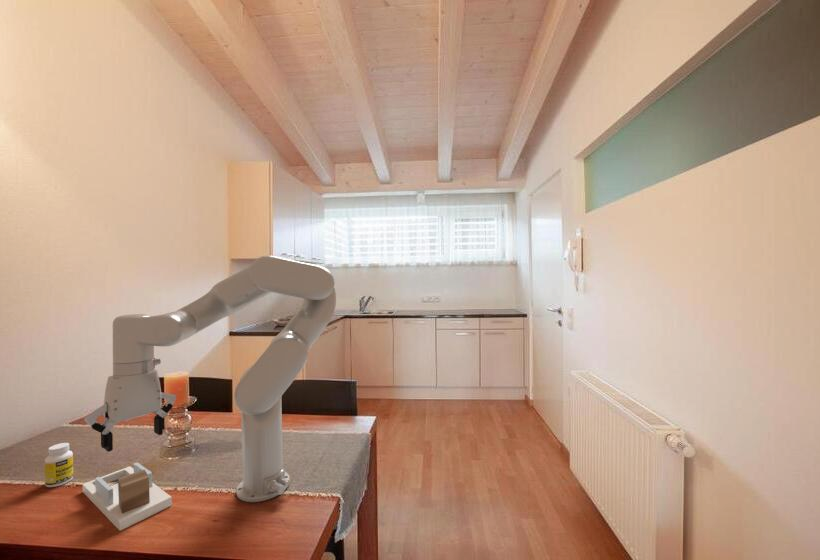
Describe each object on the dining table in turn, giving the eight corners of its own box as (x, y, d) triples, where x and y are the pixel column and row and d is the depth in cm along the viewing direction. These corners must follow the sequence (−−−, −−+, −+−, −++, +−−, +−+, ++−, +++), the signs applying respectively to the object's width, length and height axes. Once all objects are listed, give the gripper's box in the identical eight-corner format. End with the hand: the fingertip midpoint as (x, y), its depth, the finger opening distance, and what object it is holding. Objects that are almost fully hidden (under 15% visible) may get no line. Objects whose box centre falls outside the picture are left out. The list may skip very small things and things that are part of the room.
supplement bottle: (55, 489, 92) (54, 451, 92) (39, 487, 93) (38, 450, 93) (79, 477, 97) (77, 442, 97) (63, 475, 98) (62, 440, 98)
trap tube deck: (172, 505, 84) (171, 482, 84) (119, 530, 76) (119, 505, 75) (130, 473, 98) (129, 453, 98) (82, 491, 90) (82, 470, 90)
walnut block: (149, 502, 82) (148, 477, 82) (122, 513, 78) (121, 486, 78) (145, 493, 85) (144, 469, 85) (118, 503, 82) (117, 478, 82)
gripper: (168, 358, 91) (169, 424, 91) (79, 373, 77) (79, 452, 77) (182, 362, 87) (182, 431, 87) (90, 379, 73) (90, 462, 73)
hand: (134, 441), depth 82 cm, fingers open, 9 cm apart
